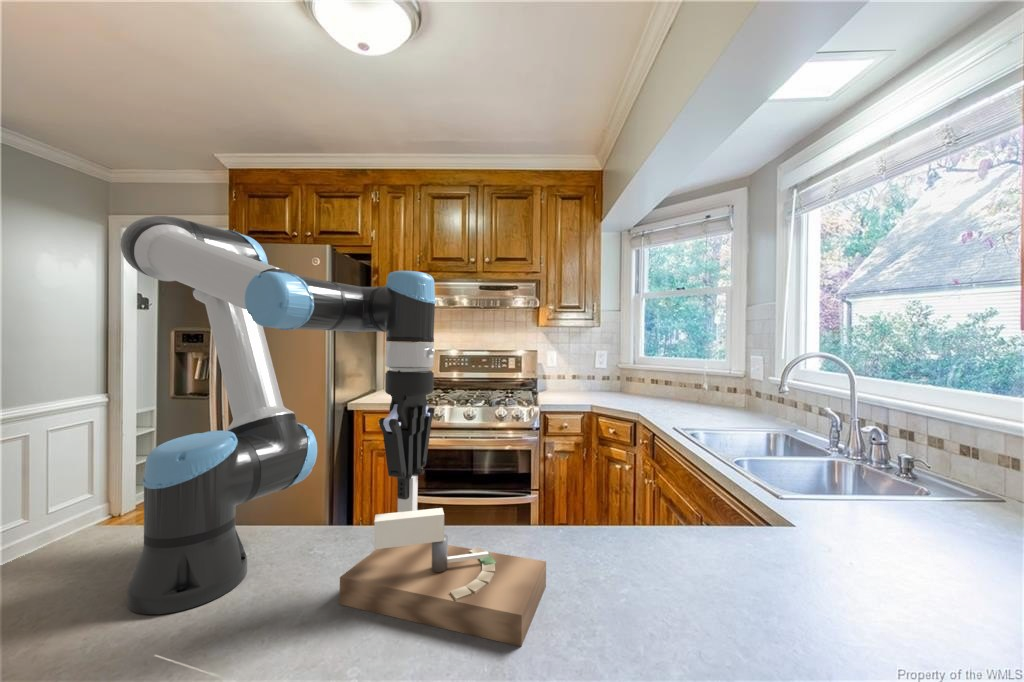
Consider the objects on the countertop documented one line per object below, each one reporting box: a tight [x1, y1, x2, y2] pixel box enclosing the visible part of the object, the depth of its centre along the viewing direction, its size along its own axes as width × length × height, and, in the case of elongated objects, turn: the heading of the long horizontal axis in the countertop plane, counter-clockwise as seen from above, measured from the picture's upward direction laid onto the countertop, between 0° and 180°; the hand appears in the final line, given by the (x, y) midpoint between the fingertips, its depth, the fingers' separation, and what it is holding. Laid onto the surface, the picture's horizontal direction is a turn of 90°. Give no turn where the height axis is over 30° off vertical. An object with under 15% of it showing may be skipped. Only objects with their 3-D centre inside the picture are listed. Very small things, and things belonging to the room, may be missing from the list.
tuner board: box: [339, 542, 547, 647], centre depth 65 cm, size 28×14×4 cm, turn 72°
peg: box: [373, 507, 489, 572], centre depth 64 cm, size 17×3×9 cm, turn 106°
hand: (407, 516), depth 67 cm, fingers closed
